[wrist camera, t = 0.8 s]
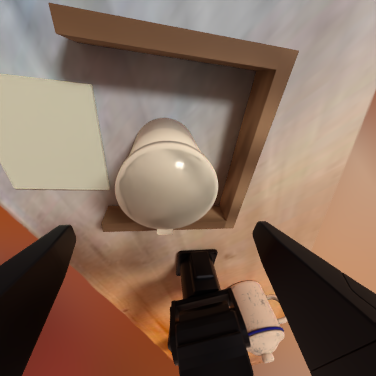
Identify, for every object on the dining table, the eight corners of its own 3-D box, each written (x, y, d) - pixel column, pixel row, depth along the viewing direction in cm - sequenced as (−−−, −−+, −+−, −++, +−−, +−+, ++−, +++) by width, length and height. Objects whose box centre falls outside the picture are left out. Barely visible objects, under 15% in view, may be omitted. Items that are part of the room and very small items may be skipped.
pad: (110, 188, 19) (109, 190, 18) (16, 187, 17) (14, 188, 17) (92, 84, 13) (91, 84, 13) (-48, 67, 12) (-52, 67, 11)
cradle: (225, 212, 23) (233, 228, 21) (109, 213, 21) (103, 231, 18) (274, 55, 14) (298, 50, 11) (73, 19, 11) (48, 2, 9)
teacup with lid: (225, 302, 41) (245, 372, 31) (219, 286, 36) (241, 363, 26) (272, 289, 40) (307, 355, 31) (274, 271, 35) (316, 344, 26)
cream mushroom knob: (130, 112, 15) (107, 140, 8) (200, 118, 16) (228, 148, 9) (136, 193, 20) (124, 252, 13) (189, 194, 21) (203, 248, 14)
